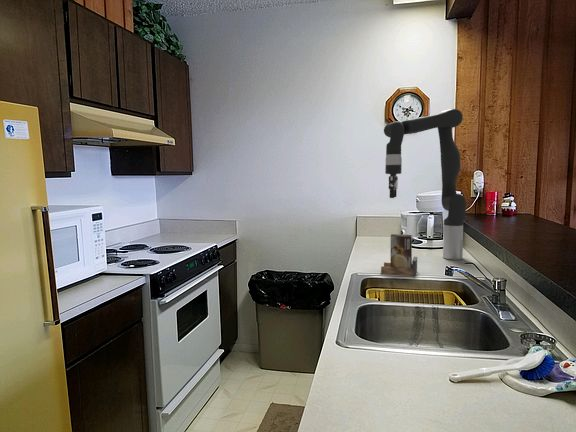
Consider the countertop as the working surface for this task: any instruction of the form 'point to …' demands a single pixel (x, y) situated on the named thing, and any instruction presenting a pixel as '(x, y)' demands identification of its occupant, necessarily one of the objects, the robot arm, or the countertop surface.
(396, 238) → the coffee box
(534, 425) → the countertop surface
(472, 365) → the countertop surface
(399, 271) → the endcap cradle
